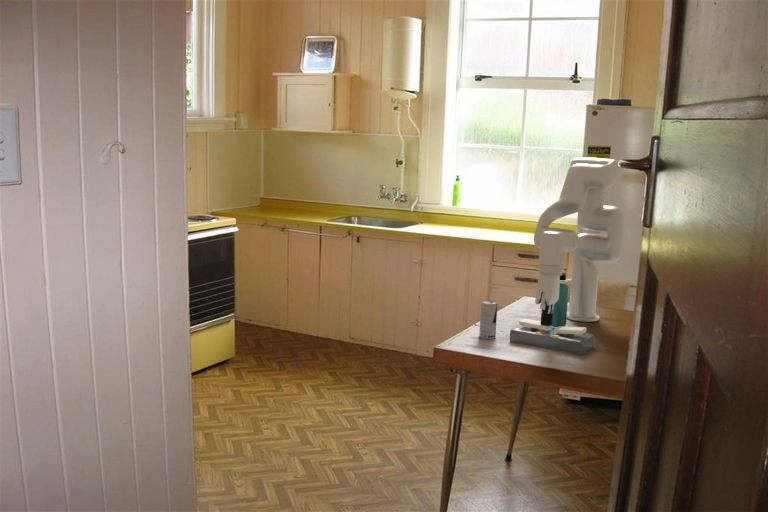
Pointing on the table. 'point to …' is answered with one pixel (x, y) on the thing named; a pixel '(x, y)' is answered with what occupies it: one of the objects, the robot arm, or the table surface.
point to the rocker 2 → (570, 330)
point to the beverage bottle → (561, 305)
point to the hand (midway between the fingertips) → (546, 324)
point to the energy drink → (488, 319)
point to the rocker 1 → (533, 324)
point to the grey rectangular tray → (552, 339)
